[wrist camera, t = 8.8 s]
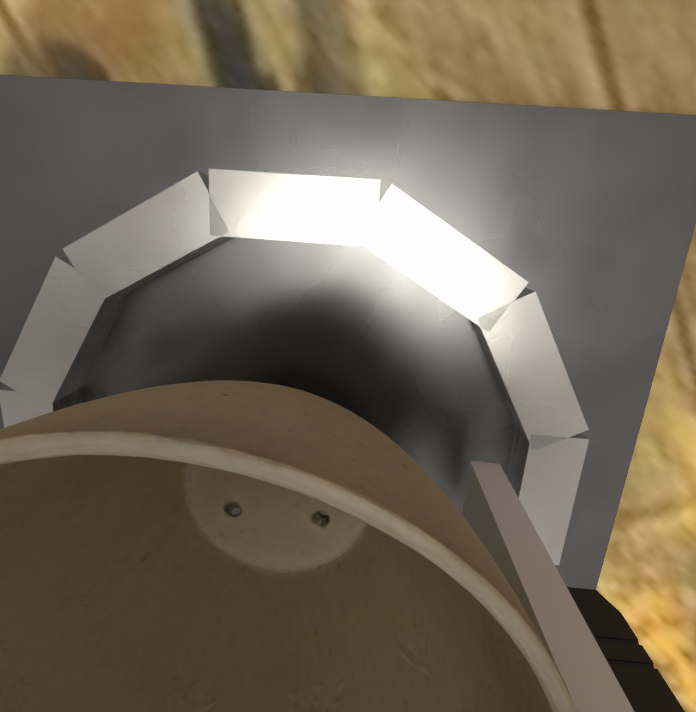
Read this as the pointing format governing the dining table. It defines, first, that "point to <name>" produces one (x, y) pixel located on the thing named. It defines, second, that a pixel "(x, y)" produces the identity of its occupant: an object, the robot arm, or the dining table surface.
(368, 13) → the dining table surface
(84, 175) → the ring plate
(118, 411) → the flower pot
